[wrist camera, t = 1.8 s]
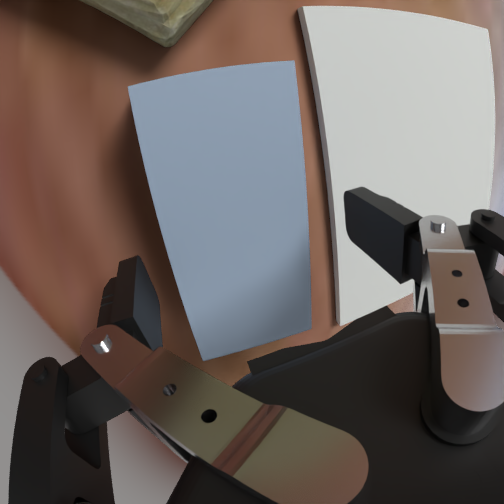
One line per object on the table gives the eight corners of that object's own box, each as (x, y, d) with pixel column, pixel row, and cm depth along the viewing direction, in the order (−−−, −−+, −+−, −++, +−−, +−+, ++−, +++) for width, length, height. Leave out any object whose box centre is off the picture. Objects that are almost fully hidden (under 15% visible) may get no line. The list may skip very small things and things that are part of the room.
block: (136, 89, 12) (127, 86, 8) (259, 67, 13) (294, 60, 9) (191, 310, 18) (202, 361, 14) (283, 285, 19) (311, 328, 15)
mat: (297, 8, 11) (302, 6, 11) (481, 29, 13) (487, 29, 13) (336, 320, 21) (340, 326, 21) (475, 253, 23) (480, 256, 23)
